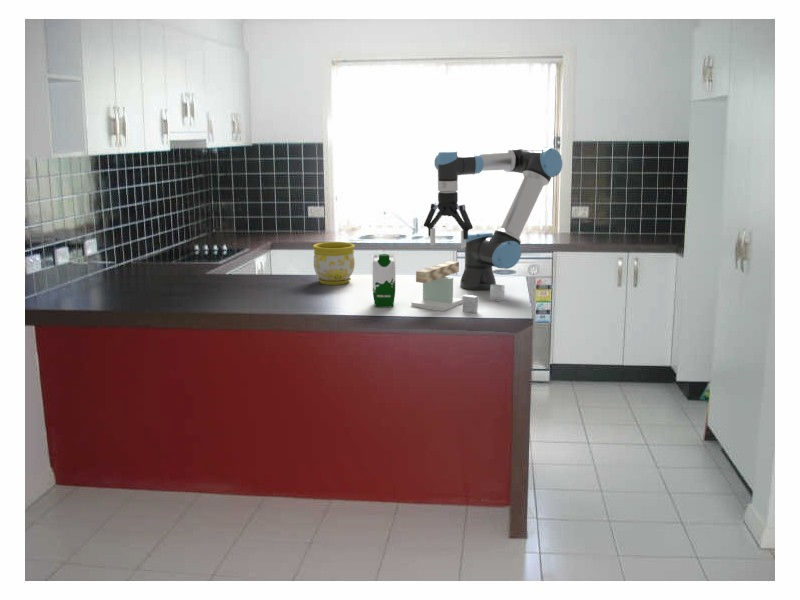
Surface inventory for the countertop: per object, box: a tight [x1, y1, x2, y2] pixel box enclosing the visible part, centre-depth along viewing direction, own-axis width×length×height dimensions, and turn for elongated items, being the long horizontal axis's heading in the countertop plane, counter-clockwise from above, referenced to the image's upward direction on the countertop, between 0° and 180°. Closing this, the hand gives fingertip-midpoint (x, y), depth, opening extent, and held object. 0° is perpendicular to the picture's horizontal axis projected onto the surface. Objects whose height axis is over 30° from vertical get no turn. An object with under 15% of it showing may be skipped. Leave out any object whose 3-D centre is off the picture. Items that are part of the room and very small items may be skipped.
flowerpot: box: [312, 241, 356, 286], centre depth 360 cm, size 18×18×16 cm
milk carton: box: [372, 253, 396, 308], centre depth 318 cm, size 9×9×20 cm
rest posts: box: [462, 283, 505, 314], centre depth 318 cm, size 25×5×6 cm, turn 147°
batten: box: [415, 260, 460, 284], centre depth 318 cm, size 26×4×4 cm, turn 147°
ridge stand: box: [411, 276, 463, 312], centre depth 320 cm, size 16×14×11 cm
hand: (448, 246), depth 323 cm, fingers open, 13 cm apart
